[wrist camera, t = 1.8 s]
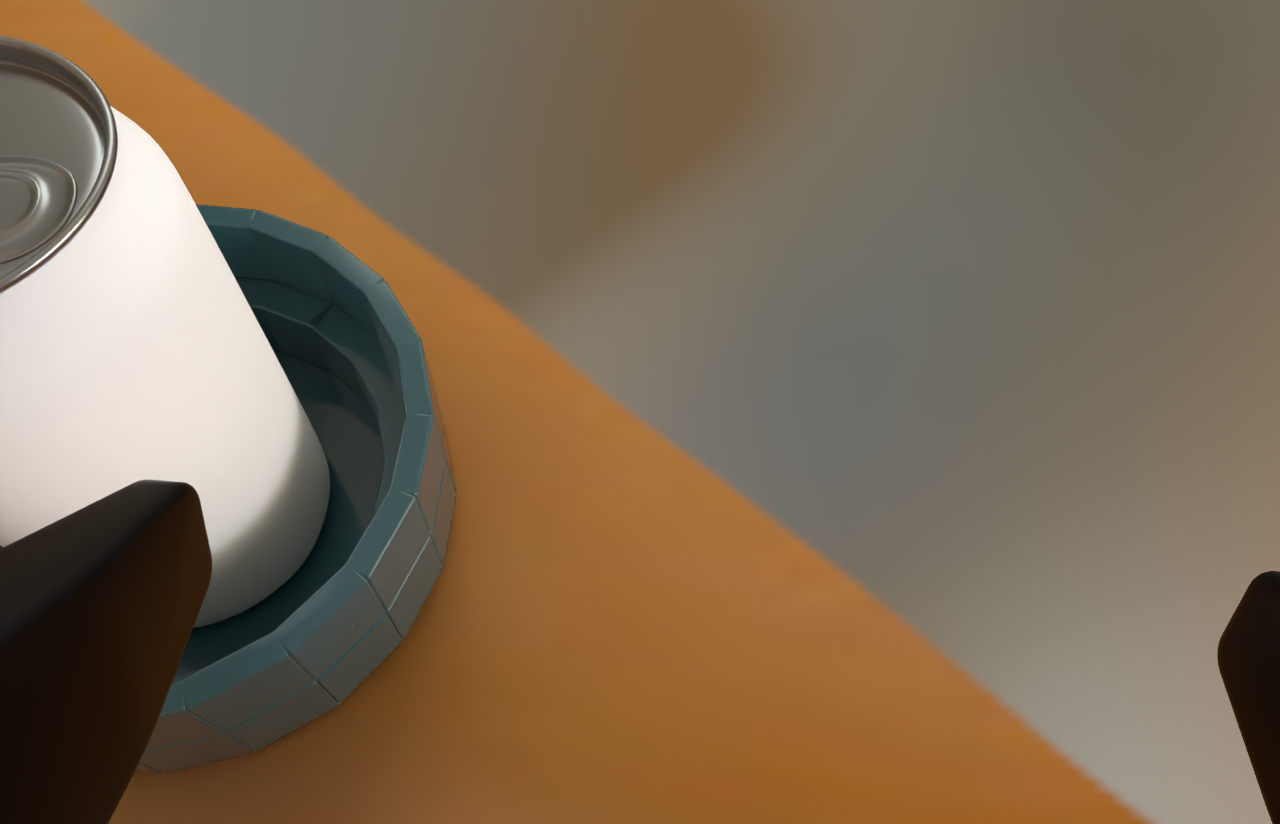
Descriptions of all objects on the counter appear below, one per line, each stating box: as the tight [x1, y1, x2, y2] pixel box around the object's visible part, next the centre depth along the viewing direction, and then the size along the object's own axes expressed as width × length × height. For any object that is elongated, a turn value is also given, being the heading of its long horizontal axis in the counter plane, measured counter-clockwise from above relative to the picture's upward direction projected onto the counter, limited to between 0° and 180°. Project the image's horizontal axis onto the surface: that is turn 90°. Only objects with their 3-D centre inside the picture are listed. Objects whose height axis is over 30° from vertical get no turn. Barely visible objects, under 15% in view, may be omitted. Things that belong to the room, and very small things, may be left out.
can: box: [0, 36, 330, 628], centre depth 18 cm, size 6×6×12 cm
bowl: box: [0, 204, 456, 773], centre depth 22 cm, size 12×12×5 cm
